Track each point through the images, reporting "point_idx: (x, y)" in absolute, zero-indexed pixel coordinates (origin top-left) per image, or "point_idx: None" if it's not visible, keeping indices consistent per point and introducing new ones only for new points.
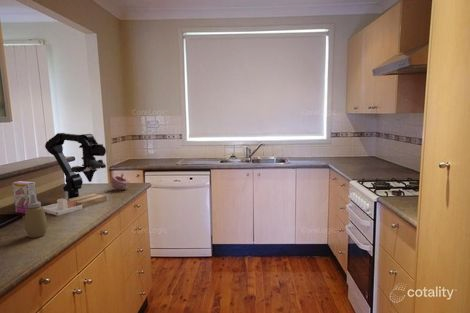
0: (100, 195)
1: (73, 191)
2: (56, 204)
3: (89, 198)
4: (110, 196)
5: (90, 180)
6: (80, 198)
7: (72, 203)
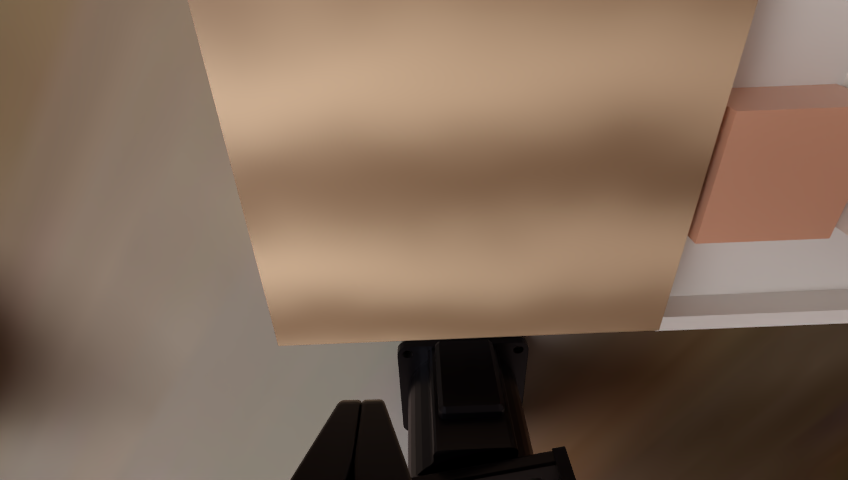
0: (243, 121)
1: (514, 441)
2: (774, 305)
3: (480, 108)
4: (52, 164)
5: (367, 429)
6: (545, 231)
7: (793, 103)
